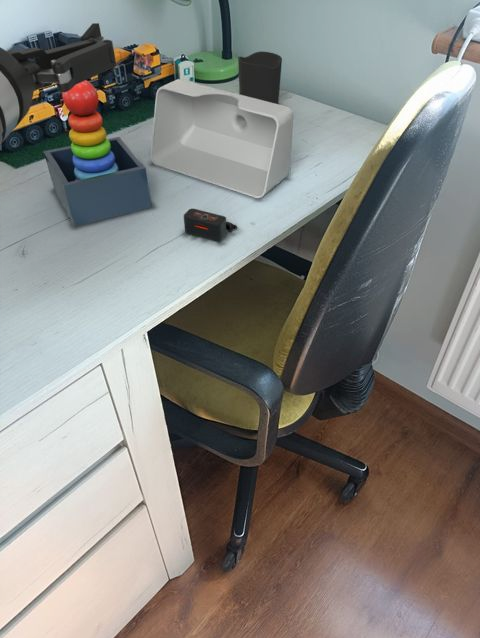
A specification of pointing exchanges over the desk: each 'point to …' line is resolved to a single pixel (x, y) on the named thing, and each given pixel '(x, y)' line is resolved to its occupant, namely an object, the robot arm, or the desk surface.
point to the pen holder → (260, 76)
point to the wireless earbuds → (207, 225)
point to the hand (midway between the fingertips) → (42, 36)
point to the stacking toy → (88, 133)
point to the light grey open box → (222, 137)
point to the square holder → (99, 185)
